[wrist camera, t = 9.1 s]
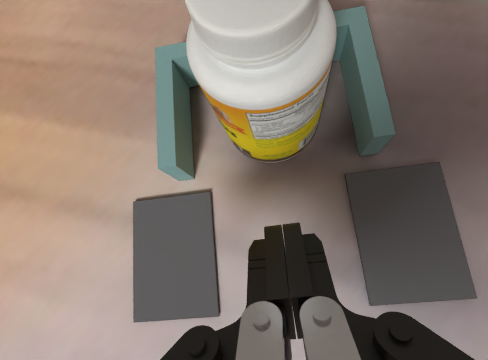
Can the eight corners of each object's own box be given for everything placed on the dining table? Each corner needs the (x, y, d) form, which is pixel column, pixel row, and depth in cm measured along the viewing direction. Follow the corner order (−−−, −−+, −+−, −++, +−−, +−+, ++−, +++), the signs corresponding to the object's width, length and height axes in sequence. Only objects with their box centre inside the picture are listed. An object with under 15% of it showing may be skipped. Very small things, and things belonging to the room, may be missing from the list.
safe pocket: (179, 180, 18) (158, 168, 15) (174, 76, 20) (155, 47, 17) (377, 153, 16) (396, 133, 13) (352, 43, 18) (364, 5, 15)
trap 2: (135, 321, 16) (133, 322, 16) (135, 202, 18) (133, 201, 18) (219, 315, 16) (218, 316, 16) (210, 192, 17) (210, 191, 17)
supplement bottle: (222, 95, 19) (148, -70, 9) (306, 75, 18) (324, -126, 8) (236, 174, 17) (165, 82, 8) (326, 156, 17) (378, 28, 7)
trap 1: (369, 304, 15) (370, 305, 14) (344, 174, 16) (345, 174, 16) (474, 297, 14) (477, 298, 14) (437, 163, 16) (439, 162, 16)
